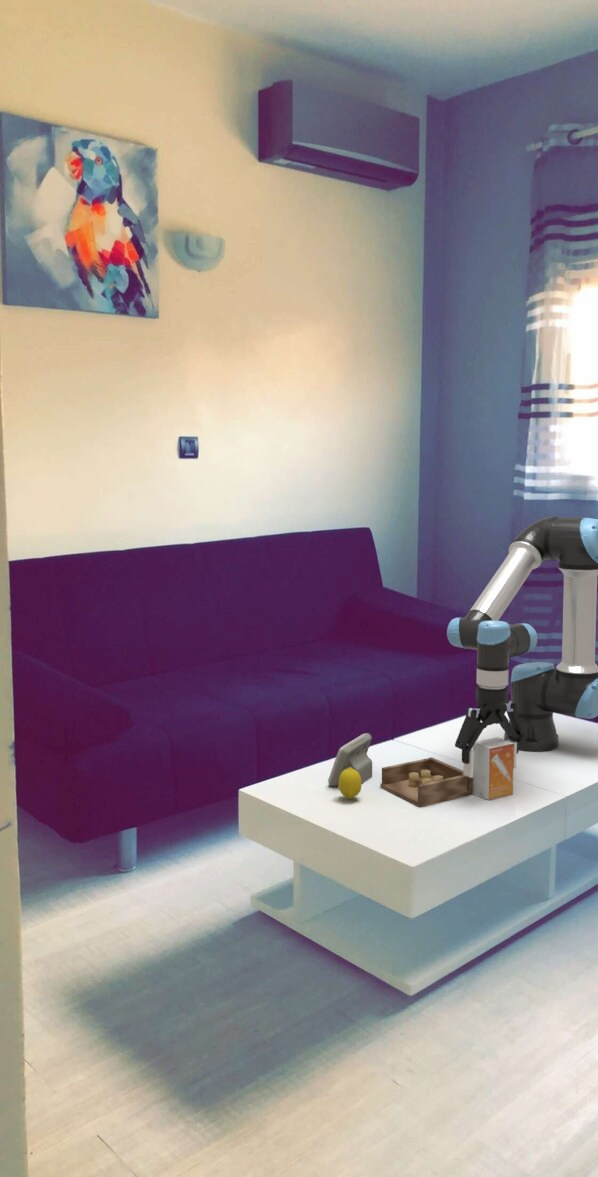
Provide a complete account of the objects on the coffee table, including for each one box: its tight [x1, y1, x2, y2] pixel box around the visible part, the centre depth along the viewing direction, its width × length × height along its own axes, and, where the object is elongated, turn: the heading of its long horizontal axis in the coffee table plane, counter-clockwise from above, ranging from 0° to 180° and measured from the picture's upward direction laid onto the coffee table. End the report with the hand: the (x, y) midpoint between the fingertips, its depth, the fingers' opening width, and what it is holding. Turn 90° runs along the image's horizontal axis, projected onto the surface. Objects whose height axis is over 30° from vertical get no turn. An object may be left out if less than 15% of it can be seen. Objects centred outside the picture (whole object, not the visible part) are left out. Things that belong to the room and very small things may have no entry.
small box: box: [471, 736, 514, 801], centre depth 235 cm, size 8×6×13 cm
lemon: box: [338, 767, 363, 800], centre depth 232 cm, size 6×6×8 cm
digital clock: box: [327, 732, 373, 787], centre depth 246 cm, size 16×9×11 cm, turn 139°
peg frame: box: [379, 756, 473, 808], centre depth 238 cm, size 16×16×5 cm
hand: (490, 771), depth 234 cm, fingers open, 13 cm apart
